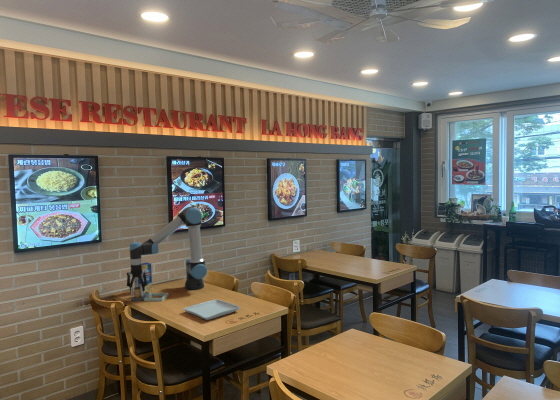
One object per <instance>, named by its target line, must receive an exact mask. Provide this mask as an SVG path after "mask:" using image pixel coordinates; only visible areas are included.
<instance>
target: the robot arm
mask: <svg viewBox="0 0 560 400" xmlns="http://www.w3.org/2000/svg"><path fill="white" fill-rule="evenodd" d="M202 219H203V213H202V211H201V210H200V209H199V207H198V208H197V207H193V206H187V207H185V208H184V209H183V210H182V211H180V212H179V213H178V214H177V215H176V217H175V218H174V219H173V220H171V221H170V222H169V223H168V224H166V225H164V227H163V228H162V229H160V230H159V231H157V232H156V233H155V234H154V235H152V236H151V237H150V238H149V239H147V240H145V241H144V242H142V244H141V242H139V241H135V242H130V244H129V258H130V259H129V260H130V271H128V272H126V276H127V277H126V287H128V288H129V292H130V295H131V297H134V296H135V292H134V286H133V284H134V283H135V282H134V279H135V277H138V278H139V280H140V283H141V285H142V287H141V296H144V291H145V286H147V278H146V272H143V271H142V264H141V263H143V262H142V256H148V255H157V254H158V253H159V245H160V244H161V243H162V242H164V241H165V240H166V239H167V238H168V237H170V236H171V235H172V234H173V233H175V232H176V231H178V229H179V228H181V227H182V226H186V228H187V229H188V239H189V250H190V251H189V252H190V258H188V259H186V261H185V271H186V273H185V274H186V280H185V284H184V289H185V290H187V291H188V290H189V291H194V290H195V291H196V290H200V289H203V288H204V287H205V283H204V280H203V279H204V278H205V277H206V276H207V273H208V268H207V266H206V259H205V258H203V249H202V247H203V246H202V237H201V236H202V235H201V226H202ZM141 274H143V279H144V282H143V279H142V276H141Z"/></svg>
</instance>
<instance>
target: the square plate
mask: <svg viewBox="0 0 560 400" xmlns="http://www.w3.org/2000/svg"><path fill="white" fill-rule="evenodd" d="M240 308H241V306H239V305H237V304H233V303H231V302H227V301H224V300H220V299H217V298H216V299H213V300H208V301H203V302H201V303H196V304H193V305H189V306H186V307H184V308H183V307H182V310H184V311H185V312H186V313H188V314H191V315H194V316H196V317H199V318H201V319H203V320H206V321H208V320H212V319H217V318H220V317H223V316H225V315H228V314H231V313H235V312H236V311H238V310H240Z"/></svg>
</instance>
